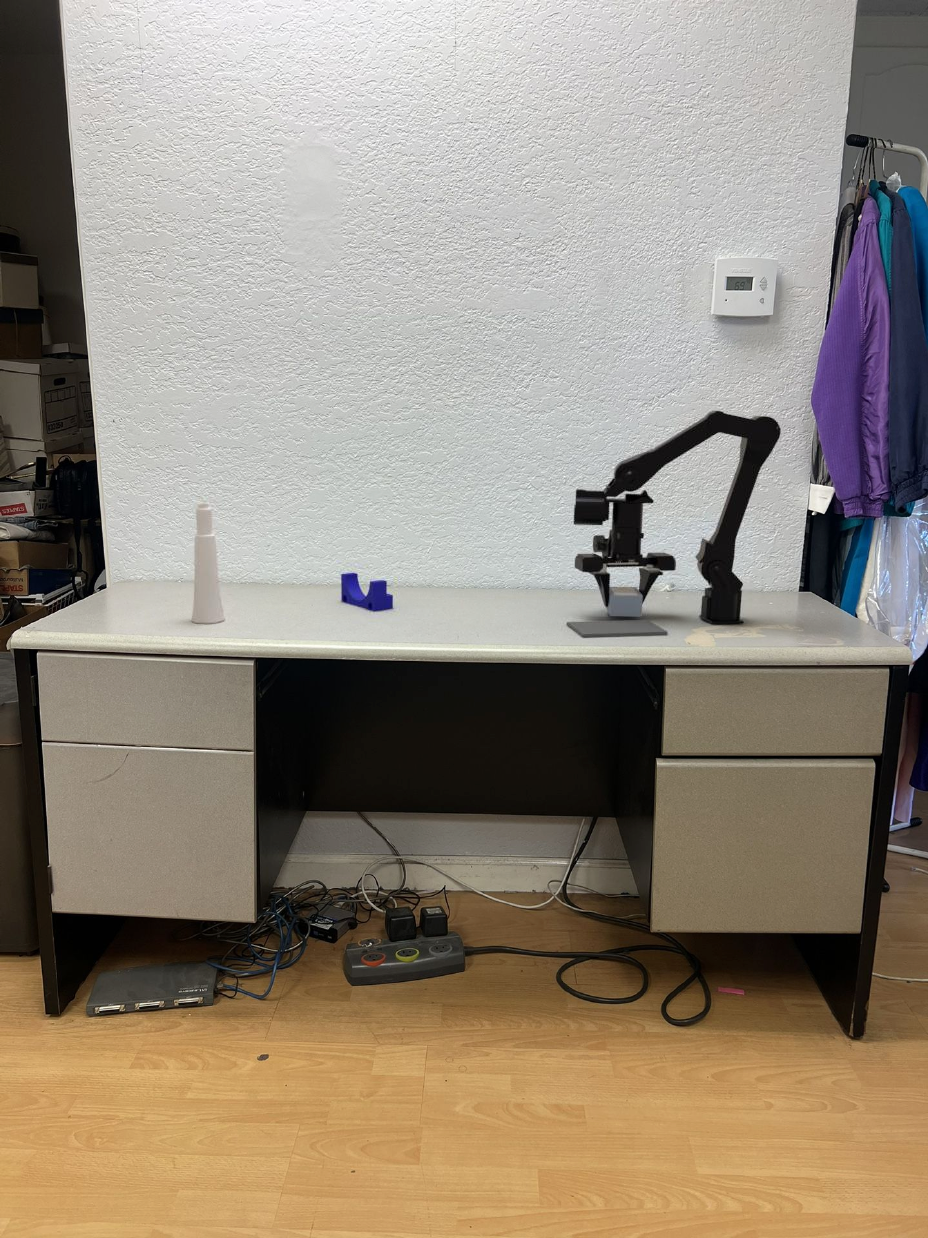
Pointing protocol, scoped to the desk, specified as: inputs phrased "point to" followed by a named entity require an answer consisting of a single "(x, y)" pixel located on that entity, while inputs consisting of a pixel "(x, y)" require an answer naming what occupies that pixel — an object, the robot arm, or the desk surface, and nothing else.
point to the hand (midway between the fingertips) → (623, 606)
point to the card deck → (625, 601)
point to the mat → (616, 628)
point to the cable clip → (375, 597)
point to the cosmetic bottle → (206, 571)
